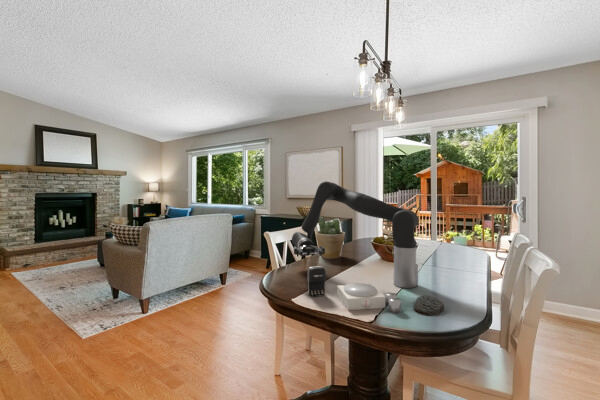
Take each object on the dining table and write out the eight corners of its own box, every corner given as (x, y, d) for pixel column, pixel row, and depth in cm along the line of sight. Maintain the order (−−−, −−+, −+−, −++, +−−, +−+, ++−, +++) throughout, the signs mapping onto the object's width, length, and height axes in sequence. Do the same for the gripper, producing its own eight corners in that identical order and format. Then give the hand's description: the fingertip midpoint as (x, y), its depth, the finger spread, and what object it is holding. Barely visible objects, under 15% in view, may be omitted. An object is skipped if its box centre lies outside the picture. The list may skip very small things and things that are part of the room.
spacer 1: (393, 302, 106) (393, 292, 106) (398, 307, 102) (398, 296, 102) (383, 303, 105) (383, 292, 105) (387, 307, 101) (388, 296, 101)
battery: (309, 298, 110) (309, 269, 110) (307, 294, 114) (307, 266, 114) (326, 296, 112) (326, 268, 112) (323, 293, 116) (323, 265, 115)
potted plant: (344, 253, 187) (344, 216, 186) (345, 260, 168) (346, 219, 167) (316, 253, 188) (316, 216, 188) (315, 260, 170) (315, 218, 169)
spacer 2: (397, 308, 101) (397, 297, 101) (402, 313, 97) (402, 301, 97) (386, 309, 100) (386, 297, 100) (391, 314, 96) (391, 302, 96)
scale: (370, 293, 115) (370, 281, 115) (386, 308, 101) (386, 294, 100) (337, 295, 113) (337, 283, 113) (348, 310, 99) (348, 296, 99)
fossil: (447, 308, 102) (447, 297, 102) (434, 319, 93) (434, 307, 93) (419, 300, 109) (419, 290, 109) (404, 310, 100) (404, 299, 100)
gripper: (291, 238, 139) (295, 245, 123) (320, 238, 141) (327, 245, 125) (291, 253, 139) (295, 262, 123) (319, 253, 141) (327, 261, 125)
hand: (311, 253), depth 124 cm, fingers open, 8 cm apart
